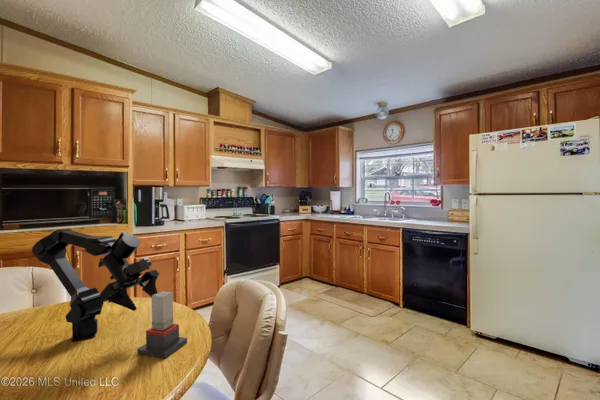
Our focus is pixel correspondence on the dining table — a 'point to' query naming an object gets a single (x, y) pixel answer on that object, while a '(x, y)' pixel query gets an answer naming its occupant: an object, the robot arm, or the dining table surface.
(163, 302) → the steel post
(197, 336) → the dining table surface
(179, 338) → the stand
